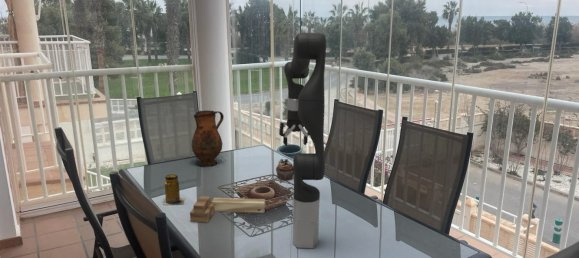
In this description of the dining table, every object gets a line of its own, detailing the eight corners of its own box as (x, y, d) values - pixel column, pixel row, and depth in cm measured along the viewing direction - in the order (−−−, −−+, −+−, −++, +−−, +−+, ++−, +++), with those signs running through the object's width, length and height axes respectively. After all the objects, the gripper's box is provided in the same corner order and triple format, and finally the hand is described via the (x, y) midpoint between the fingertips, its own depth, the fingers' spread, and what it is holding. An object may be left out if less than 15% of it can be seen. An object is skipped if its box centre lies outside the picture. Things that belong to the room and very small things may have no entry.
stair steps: (207, 222, 170) (207, 206, 168) (190, 221, 170) (189, 205, 169) (214, 212, 179) (214, 196, 178) (198, 211, 180) (197, 195, 178)
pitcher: (186, 164, 241) (183, 112, 234) (213, 156, 257) (212, 107, 250) (206, 170, 231) (204, 116, 224) (234, 161, 248) (233, 110, 241)
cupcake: (297, 180, 219) (297, 161, 217) (279, 182, 215) (279, 163, 213) (290, 174, 228) (290, 156, 225) (273, 176, 224) (273, 157, 222)
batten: (264, 213, 180) (264, 203, 179) (212, 211, 180) (211, 201, 179) (265, 208, 184) (265, 199, 183) (214, 207, 185) (214, 197, 184)
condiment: (166, 198, 193) (165, 173, 190) (185, 198, 194) (184, 172, 191) (163, 205, 186) (161, 178, 183) (183, 204, 187) (182, 178, 184)
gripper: (281, 110, 180) (281, 147, 183) (314, 109, 183) (313, 146, 186) (278, 107, 187) (277, 143, 190) (309, 106, 190) (308, 142, 194)
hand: (295, 144), depth 188 cm, fingers open, 8 cm apart
